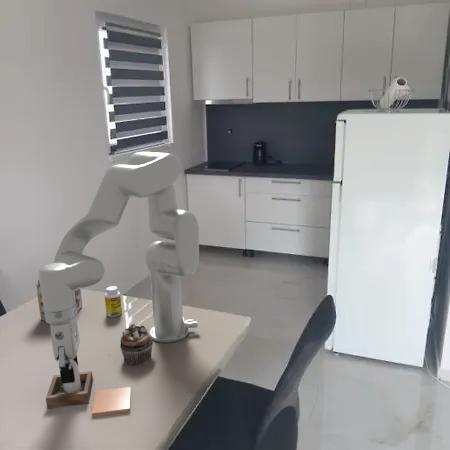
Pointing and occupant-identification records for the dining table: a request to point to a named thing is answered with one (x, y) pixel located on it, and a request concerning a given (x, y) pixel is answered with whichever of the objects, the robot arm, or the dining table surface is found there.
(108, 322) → the dining table surface
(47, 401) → the walnut holder
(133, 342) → the cupcake
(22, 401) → the dining table surface
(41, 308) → the decorative jar
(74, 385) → the eye dropper bottle
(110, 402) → the terracotta tile
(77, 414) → the dining table surface
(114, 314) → the supplement bottle
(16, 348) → the dining table surface
